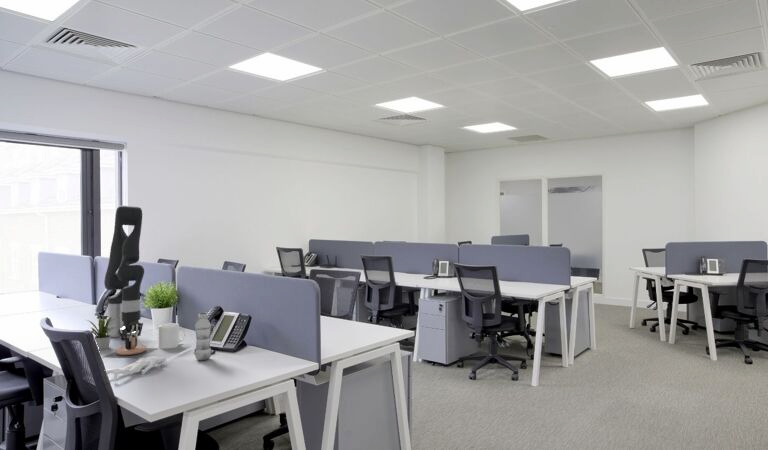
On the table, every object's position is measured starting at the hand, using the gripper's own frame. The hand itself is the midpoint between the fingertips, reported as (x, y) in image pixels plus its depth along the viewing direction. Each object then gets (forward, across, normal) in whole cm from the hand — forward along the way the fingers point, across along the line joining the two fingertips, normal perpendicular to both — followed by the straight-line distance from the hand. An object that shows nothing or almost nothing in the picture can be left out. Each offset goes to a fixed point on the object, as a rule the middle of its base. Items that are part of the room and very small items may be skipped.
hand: (131, 347), depth 213 cm
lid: (+2, 0, 0) cm, 2 cm away
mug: (+3, -14, +11) cm, 18 cm away
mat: (+3, 0, 0) cm, 3 cm away
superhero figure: (+3, +22, +20) cm, 30 cm away
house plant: (+3, -5, -17) cm, 18 cm away
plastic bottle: (+3, +3, +36) cm, 36 cm away
